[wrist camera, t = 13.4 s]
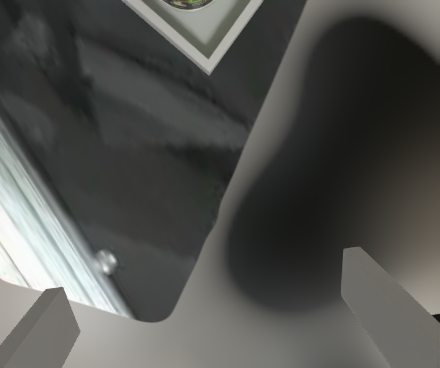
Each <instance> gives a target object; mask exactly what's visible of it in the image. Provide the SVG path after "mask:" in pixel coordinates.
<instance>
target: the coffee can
mask: <svg viewBox="0 0 440 368" xmlns="http://www.w3.org/2000/svg"><path fill="white" fill-rule="evenodd" d="M160 1H161V2H162V3H164V4H165V5H166V6H168V7H170V8H172V9H174V10H177V11H181V12H195V11H199V10H202V9H204V8H206V7H208V6H210V5H211V4H212V3H214V2H215V1H216V0H160Z"/></svg>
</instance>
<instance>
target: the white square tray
mask: <svg viewBox="0 0 440 368" xmlns="http://www.w3.org/2000/svg"><path fill="white" fill-rule="evenodd" d="M122 1H123V2H124V3H125V4H126V5H127V6H129V7H130V8H131V9H132V10H133V11H134V12H136V13H137V14H138V15H139V16H140V17H141V18H143V19H144V20H145V21H146V22H147V23H148V24H149V25H151V26H152V27H153V28H154V29H155V30H156V31H158V32H159V33H160V34H161V35H162V36H163V37H165V38H166V39H167V40H168V41H169V42H170V43H172V44H173V45H174V46H175V47H176V48H177V49H178V50H180V51H181V52H182V53H183V54H184V55H185V56H187V57H188V58H189V59H190V60H191V61H192V62H194V63H195V64H196V65H197V66H198V67H199V68H200V69H202V70H203V71H204V72H205V73H206V74H207V75H210V73H211V72H212V71H213V69H214V68H215V67H216V65H217V64H218V62H219V61H220V60H221V58H222V57H223V56H224V54H225V53H226V51H227V50H228V49H229V47H230V46H231V45H232V43H233V42H234V40H235V39H236V38H237V36H238V35H239V34H240V32H241V31H242V29H243V28H244V27H245V25H246V24H247V23H248V21H249V20H250V18H251V17H252V16H253V14H254V13H255V12H256V10H257V9H258V7H259V6H260V5H261V3H262V2H263V1H264V0H216V1H215V2H214V3H212V4H211V5H210V6H208V7H206V8H204V9H202V10H199V11H195V12H181V11H177V10H174V9H172V8H170V7H168V6H166V5H165V4H164V3H162V2H161V1H160V0H122Z"/></svg>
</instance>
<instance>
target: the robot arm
mask: <svg viewBox="0 0 440 368" xmlns="http://www.w3.org/2000/svg"><path fill="white" fill-rule="evenodd" d="M341 296H342V297H343V299H344V300H345V302H346V303H347V305H348V306H349V308H350V309H351V310H352V312H353V313H354V315H355V316H356V318H357V319H358V320H359V322H360V323H361V324H362V326H363V328H364V329H365V330H366V332H367V333H368V335H369V336H370V338H371V339H372V340H373V342H374V343H375V345H376V346H377V347H378V349H379V351H380V352H381V353H382V355H383V356H384V358H385V359H386V361H387V362H388V363H389V365H390V366H391V368H440V314H435V315H431V314H430V313H429V312H427V311H426V310H425V309H424V308H423V307H422V306H421V305H420V304H419V303H418V302H417V301H416V300H415V299H414V298H413V297H412V296H411V295H410V294H409V293H408V292H407V291H405V290H404V289H403V288H402V287H401V286H400V285H399V284H398V283H397V282H396V281H395V280H394V279H393V278H392V277H391V276H390V275H389V274H388V273H387V272H385V270H383V269H382V268H381V267H380V266H379V265H378V264H377V263H376V262H375V261H374V260H373V259H372V258H371V257H370V256H369V255H368V254H367V253H365V251H364V250H362V249H361V248H360V247H354V248H347V249H344V253H343V269H342V285H341ZM79 334H80V329H79V327H78V324H77V321H76V319H75V316H74V314H73V311H72V309H71V306H70V304H69V301H68V299H67V296H66V294H65V291H64V289H63V287H58V288H51V289H46V290H45V291H44V292H43V293H42V295H41V296H40V297H39V298H38V300H37V301H36V302H35V303H34V305H33V306H32V307H31V308H30V309H29V311H28V312H27V313H26V314H25V316H24V317H23V318H22V319H21V321H20V322H19V323H18V325H16V327H15V328H14V329H13V330H12V332H11V333H10V334H9V335H8V336H7V338H6V339H5V340H4V341H3V343H2V344H1V345H0V368H62V366H63V364H64V363H65V360H66V359H67V357H68V355H69V353H70V351H71V349H72V347H73V345H74V343H75V341H76V339H77V337H78V335H79Z"/></svg>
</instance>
